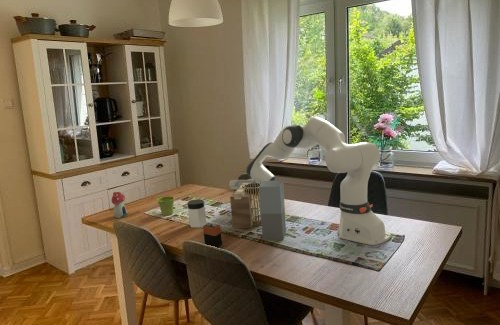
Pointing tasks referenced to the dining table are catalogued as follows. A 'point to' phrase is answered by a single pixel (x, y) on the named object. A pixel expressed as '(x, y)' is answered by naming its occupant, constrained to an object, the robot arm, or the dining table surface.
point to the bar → (240, 192)
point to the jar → (196, 213)
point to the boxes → (262, 210)
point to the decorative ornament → (119, 205)
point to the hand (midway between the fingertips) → (245, 180)
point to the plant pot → (166, 204)
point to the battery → (212, 234)
